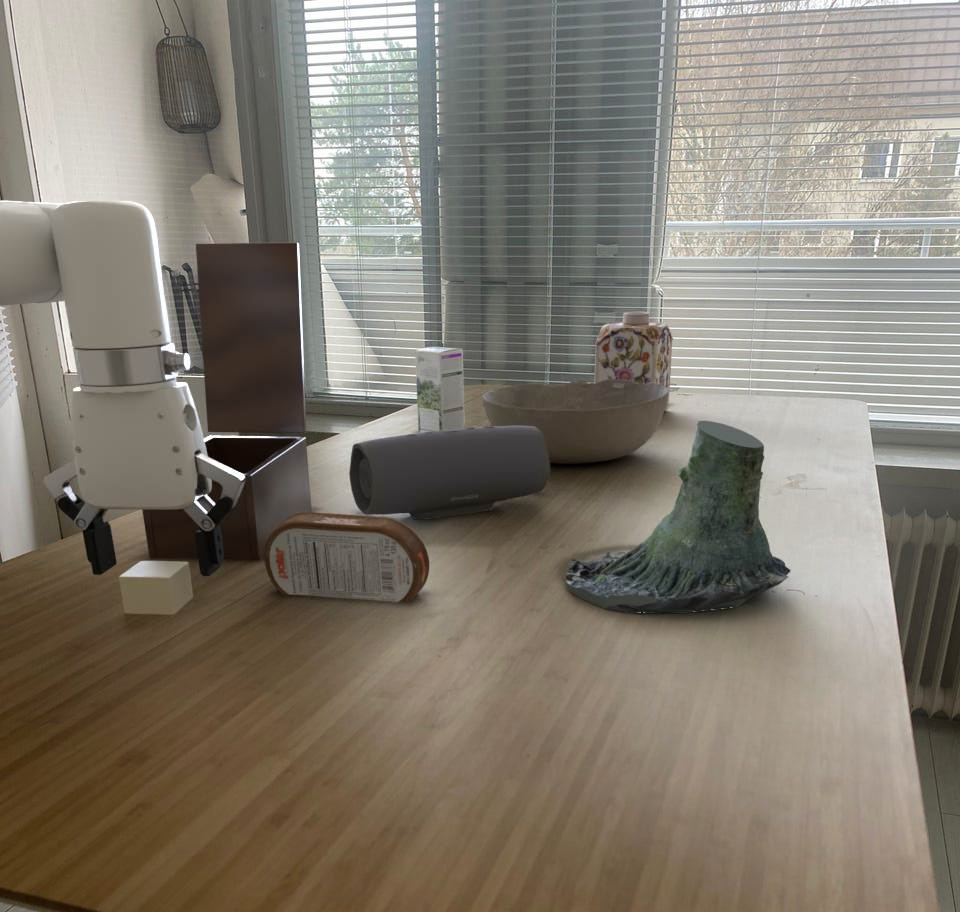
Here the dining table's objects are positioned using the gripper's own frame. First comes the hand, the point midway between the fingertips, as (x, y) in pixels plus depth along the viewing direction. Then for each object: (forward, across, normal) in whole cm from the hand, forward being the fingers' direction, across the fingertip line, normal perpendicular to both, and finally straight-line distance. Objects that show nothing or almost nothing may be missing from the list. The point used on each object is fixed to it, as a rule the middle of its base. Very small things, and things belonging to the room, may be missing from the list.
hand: (158, 570), depth 85 cm
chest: (+4, +1, -23) cm, 24 cm away
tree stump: (+5, -46, -12) cm, 47 cm away
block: (+4, 0, 0) cm, 4 cm away
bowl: (+5, -35, -71) cm, 79 cm away
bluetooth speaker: (+5, -21, -37) cm, 43 cm away
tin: (+5, -16, -4) cm, 17 cm away
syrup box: (+4, -13, -83) cm, 84 cm away
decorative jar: (+5, -44, -110) cm, 119 cm away
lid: (-16, +1, -34) cm, 38 cm away
